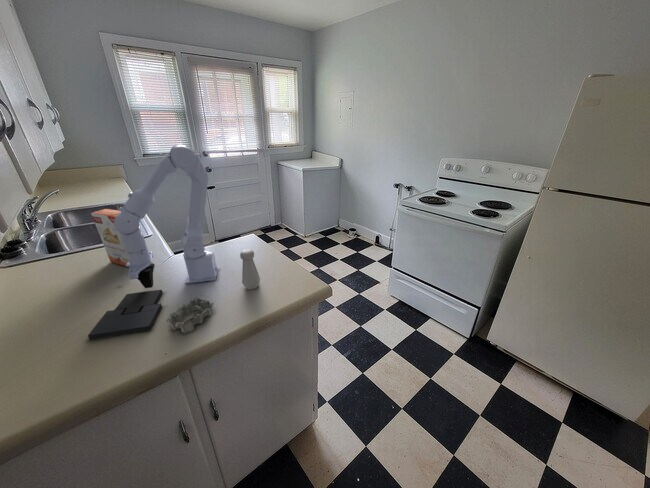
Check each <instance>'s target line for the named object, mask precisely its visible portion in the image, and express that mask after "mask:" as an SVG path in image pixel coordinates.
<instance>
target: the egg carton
mask: <svg viewBox="0 0 650 488" xmlns="http://www.w3.org/2000/svg"><path fill="white" fill-rule="evenodd" d="M213 305H215V304H214V302H210V300H206V299H203V298H201V297H199V296H196V295H195V296H194V297H193V298H192V299H190V301H188V302H186V303H185V304H183V305H182V306H180V307H179V308H177V309H176V310H175V311H173V312H170V313H169V314H168V316H167V318H166V322H169V323H170V326H171V329H172V330H174V331H176V330H177V329H180V330H181V333H183V334H185V333H187V332H192V331H193V330H195V325H198V324H202V323H203V322H204V318H205V317H208V316H209V317H210V316H212V315H213Z"/></svg>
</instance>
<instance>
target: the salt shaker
mask: <svg viewBox="0 0 650 488" xmlns="http://www.w3.org/2000/svg"><path fill="white" fill-rule="evenodd" d="M239 258H240V259H241V260H242V270H241V271H242V274H241V283H242V285H243V287H245V289H247V290H250V291H251V290H255V289H257V288H258V287H259V285H260V282H261V276H260V274H259V271H258V269H257V266H256V264H255V260H254V258H255V251H253V250H252V249H249V248H247V249H243V250H241V251H240V253H239Z"/></svg>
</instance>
